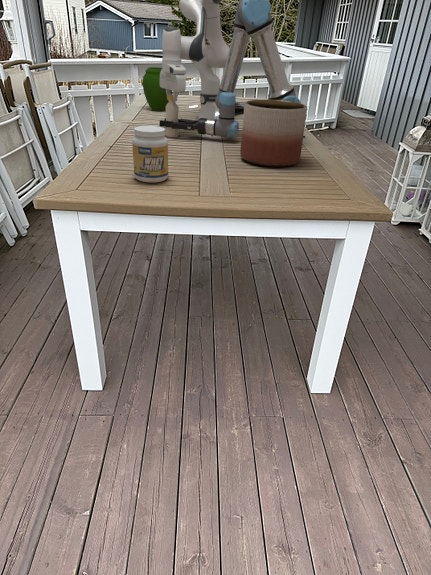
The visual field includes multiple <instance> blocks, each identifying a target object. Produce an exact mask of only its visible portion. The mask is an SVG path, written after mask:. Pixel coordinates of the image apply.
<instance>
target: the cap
mask: <svg viewBox="0 0 431 575" xmlns="http://www.w3.org/2000/svg"><path fill="white" fill-rule="evenodd" d="M173 96H174V94H172V95H167V100H170V101H173Z"/></svg>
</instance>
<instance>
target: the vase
mask: <svg viewBox="0 0 431 575" xmlns="http://www.w3.org/2000/svg"><path fill="white" fill-rule="evenodd" d="M161 70H162V67H155V66H154V67H151V66H149V67H148V68H147V69H145V73H144V74H143V76H142V81H141V84H142V89H143V94H144V97H145V100H146V102H147V104H148V107H149V108H150V109H151V110H152V111H154V112H164V111H166V105H167V104H168V103H169V100H167V94H166V89H165V88H161V87H160V72H161ZM170 93H171V95H173V91H172V90H171V91H170Z"/></svg>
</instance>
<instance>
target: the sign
mask: <svg viewBox="0 0 431 575" xmlns="http://www.w3.org/2000/svg"><path fill="white" fill-rule="evenodd" d="M245 102H246V101H236V103H235V114H236V113H240V112H243V113H242V114H244V105H245Z"/></svg>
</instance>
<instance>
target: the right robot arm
mask: <svg viewBox="0 0 431 575" xmlns="http://www.w3.org/2000/svg"><path fill="white" fill-rule="evenodd" d="M271 12H272V6H271V3H270V0H239V2H238V4H237V7H236V12H235V15H234V22H233V26H232V29H233V34H232V37H231V42H230V46H229V48H230V50H229V53H228V57H227V61H226V65H225V68H223V73H222V76H221V80H220V88H219V92H218V95H217V96H216V99H215V103H216V106H217V108H218V109H219V119H210V118H208V119H207V118H199V119H189V118H188V119H186V118H178V122H173V121H166V117H164V120H161V119H160V120H159V127H162V128H166V127H171V128H172V129H178V130H182V131H183V130H184V131H195V130H197V133H198V134H199V135H204V136H205V135H207V136H211V137H214V136H215V137H225V138H236V137H237V136H238V135H239V134H238V133H239V128H240V124H239V121H237V120H236V119H235V116H236V115H235V114H236V113H235V103H236V102H237V100H236V99H237V97H236V93H235V91H236V87H237V83H238V79H239V76H240V73H241V69H242V66H243V62H244V59H245V55H246V52H247V48H248V44H249V42H250V41H249V40H250V38H252V39H253V43H254V45H255V49H256V51H257V54H258V57H259V61H260V63H261V66H262V69H263V72H264V74H265V77H266V80H267V84H268V86H269V90H268V95H267V97H268V98H267V100H282V101H291V102H296V103H301V104H302V101H300V98H299V97H298V96H297V94H296V90H295V87H294V85H292V84H290V83H289V80H288V77H287V74H286V70H285V66H284V64H283V61H282V58H281V54H280V52H279V49H278V44H277V42H276V39H275V36H274V32H273V29H272V28H273V25H274V21H273V20H274V19H273V17H272V14H271ZM234 115H235V116H234ZM304 138H305V139H306V135H303V139H304Z"/></svg>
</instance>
